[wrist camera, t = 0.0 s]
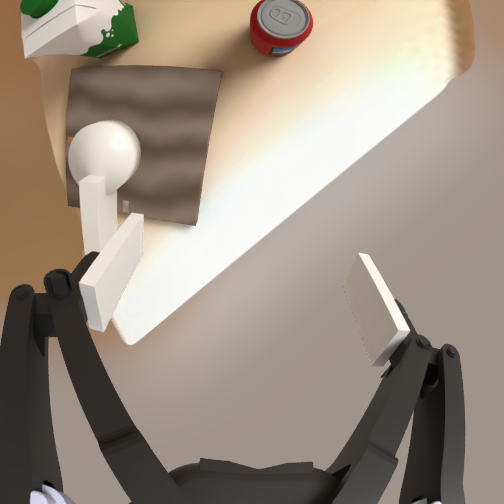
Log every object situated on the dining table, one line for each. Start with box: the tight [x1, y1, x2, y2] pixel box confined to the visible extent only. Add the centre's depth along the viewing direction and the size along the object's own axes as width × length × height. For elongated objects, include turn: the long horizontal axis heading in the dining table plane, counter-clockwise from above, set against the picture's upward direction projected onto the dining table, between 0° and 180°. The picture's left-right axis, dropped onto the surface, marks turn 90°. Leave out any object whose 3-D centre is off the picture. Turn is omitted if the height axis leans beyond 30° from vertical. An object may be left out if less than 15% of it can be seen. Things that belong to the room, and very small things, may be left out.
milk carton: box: [20, 0, 139, 58], centre depth 20 cm, size 9×9×20 cm
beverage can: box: [250, 0, 313, 57], centre depth 26 cm, size 7×7×12 cm
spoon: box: [68, 119, 141, 255], centre depth 31 cm, size 18×9×6 cm, turn 168°
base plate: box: [66, 65, 222, 226], centre depth 38 cm, size 24×24×2 cm
